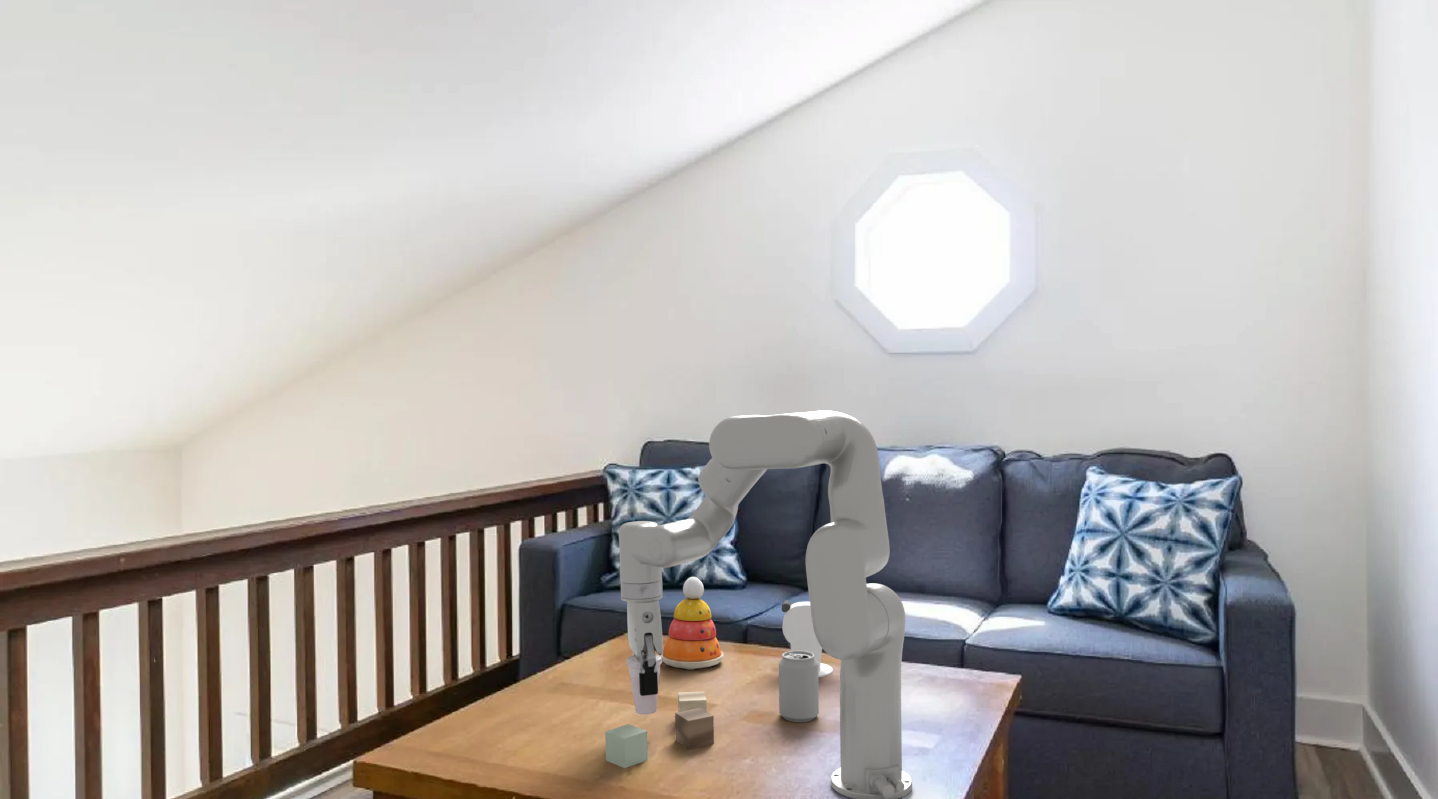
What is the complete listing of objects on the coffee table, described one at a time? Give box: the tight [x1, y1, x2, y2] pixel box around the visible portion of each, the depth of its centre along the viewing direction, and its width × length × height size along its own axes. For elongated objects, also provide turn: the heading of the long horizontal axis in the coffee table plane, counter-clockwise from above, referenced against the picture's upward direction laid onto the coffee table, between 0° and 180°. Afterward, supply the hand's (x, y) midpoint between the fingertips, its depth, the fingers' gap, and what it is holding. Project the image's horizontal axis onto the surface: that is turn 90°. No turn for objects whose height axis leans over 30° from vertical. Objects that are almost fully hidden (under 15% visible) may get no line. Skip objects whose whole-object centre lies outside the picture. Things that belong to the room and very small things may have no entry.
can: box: [778, 650, 820, 723], centre depth 191 cm, size 8×8×12 cm
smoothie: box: [626, 652, 663, 715], centre depth 183 cm, size 6×6×14 cm
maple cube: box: [677, 691, 708, 712], centre depth 189 cm, size 5×5×5 cm
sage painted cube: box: [604, 723, 649, 769], centre depth 171 cm, size 5×5×5 cm
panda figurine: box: [781, 599, 834, 678], centre depth 221 cm, size 12×11×15 cm
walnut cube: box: [674, 708, 715, 750], centre depth 179 cm, size 5×5×5 cm
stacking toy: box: [660, 576, 725, 671], centre depth 228 cm, size 14×14×20 cm
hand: (645, 688), depth 183 cm, fingers closed on smoothie, 6 cm apart
